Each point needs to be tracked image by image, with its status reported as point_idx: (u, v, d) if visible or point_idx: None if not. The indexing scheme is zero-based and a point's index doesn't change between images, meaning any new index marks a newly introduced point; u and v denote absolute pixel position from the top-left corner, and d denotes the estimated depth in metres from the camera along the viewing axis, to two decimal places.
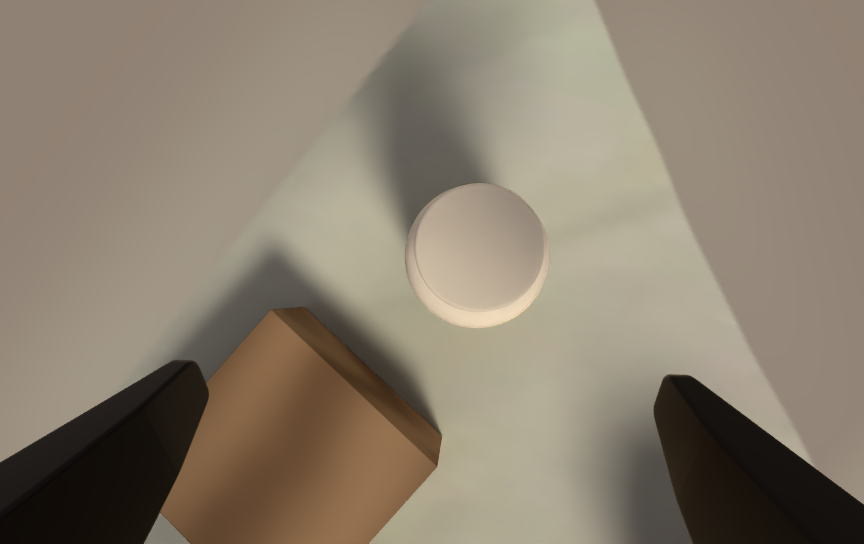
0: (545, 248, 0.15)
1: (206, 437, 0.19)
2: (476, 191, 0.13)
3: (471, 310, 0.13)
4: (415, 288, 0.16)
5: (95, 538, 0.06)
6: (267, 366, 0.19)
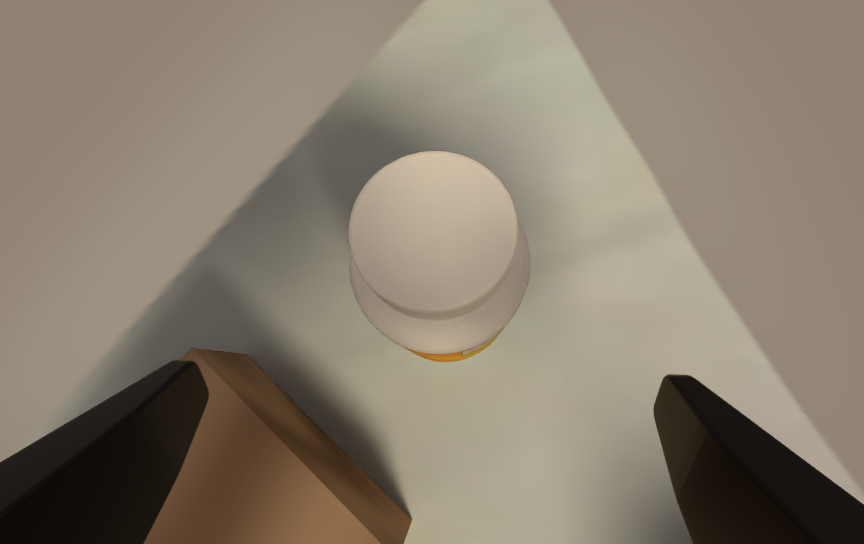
0: (523, 246, 0.12)
1: None
2: (427, 159, 0.10)
3: (422, 310, 0.10)
4: (360, 301, 0.12)
5: (95, 538, 0.06)
6: None
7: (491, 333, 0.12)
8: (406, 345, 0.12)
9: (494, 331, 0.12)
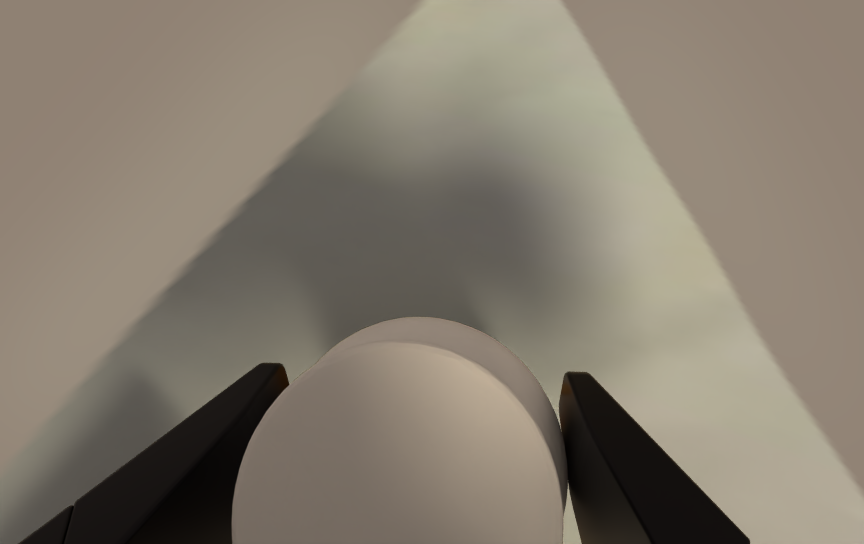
0: (558, 456, 0.07)
1: None
2: (387, 362, 0.05)
3: None
4: None
5: None
6: None
7: None
8: None
9: None
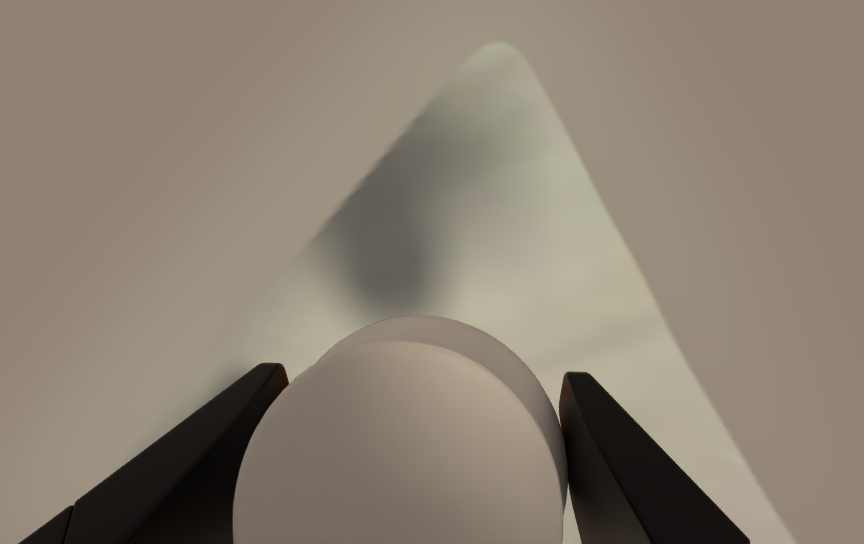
0: (558, 454, 0.07)
1: None
2: (387, 361, 0.05)
3: None
4: None
5: None
6: None
7: None
8: None
9: None
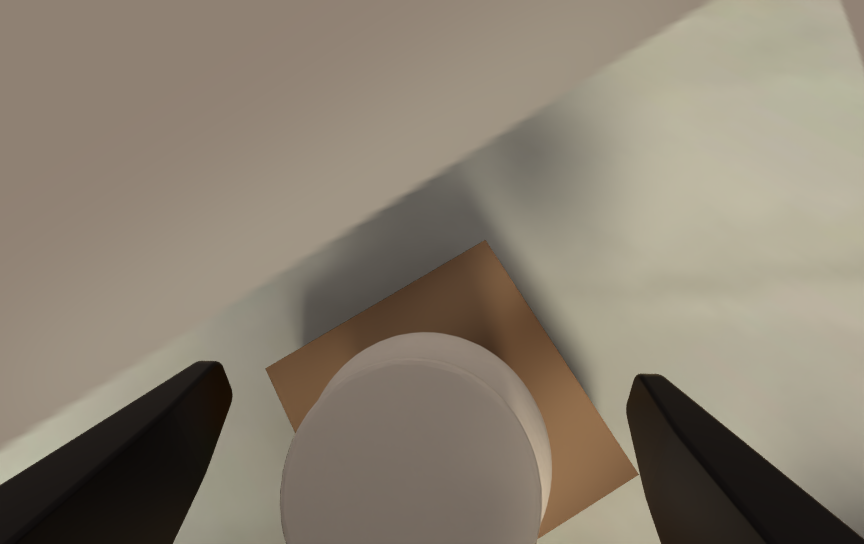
0: (543, 451, 0.09)
1: None
2: (402, 376, 0.07)
3: None
4: None
5: (127, 540, 0.06)
6: (464, 297, 0.17)
7: None
8: None
9: None
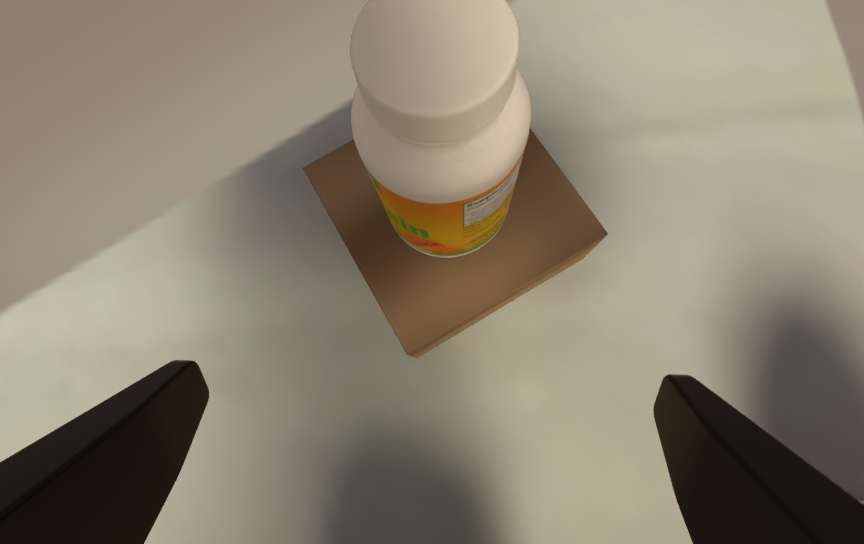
0: (524, 91, 0.12)
1: None
2: None
3: (425, 115, 0.10)
4: (362, 147, 0.12)
5: (95, 538, 0.06)
6: None
7: (492, 175, 0.12)
8: (408, 189, 0.12)
9: (495, 173, 0.12)
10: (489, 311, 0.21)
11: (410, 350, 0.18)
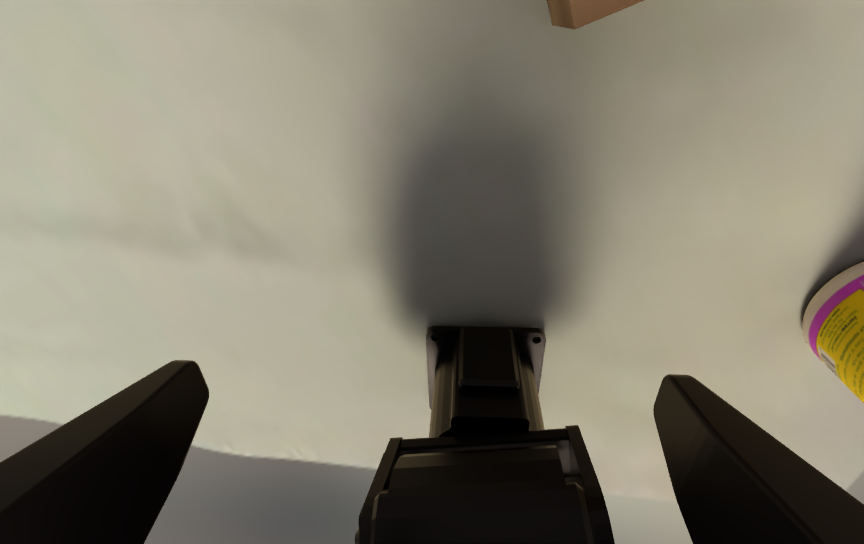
0: None
1: None
2: None
3: None
4: None
5: (95, 538, 0.06)
6: None
7: None
8: None
9: None
10: None
11: (581, 24, 0.13)
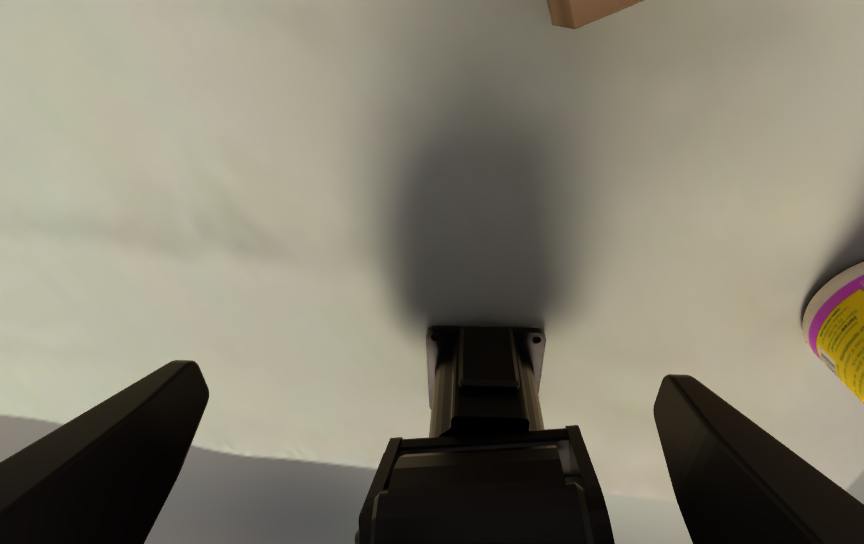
0: None
1: None
2: None
3: None
4: None
5: (95, 538, 0.06)
6: None
7: None
8: None
9: None
10: None
11: (582, 24, 0.13)
